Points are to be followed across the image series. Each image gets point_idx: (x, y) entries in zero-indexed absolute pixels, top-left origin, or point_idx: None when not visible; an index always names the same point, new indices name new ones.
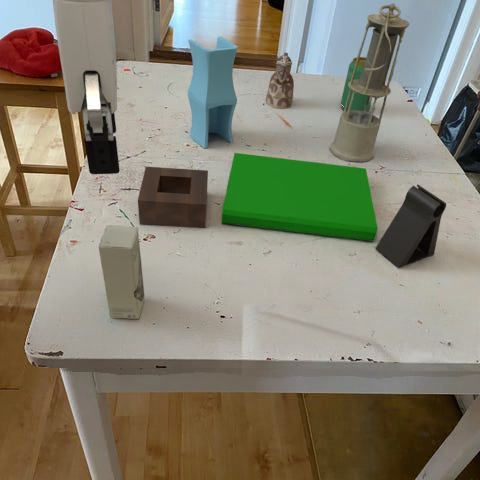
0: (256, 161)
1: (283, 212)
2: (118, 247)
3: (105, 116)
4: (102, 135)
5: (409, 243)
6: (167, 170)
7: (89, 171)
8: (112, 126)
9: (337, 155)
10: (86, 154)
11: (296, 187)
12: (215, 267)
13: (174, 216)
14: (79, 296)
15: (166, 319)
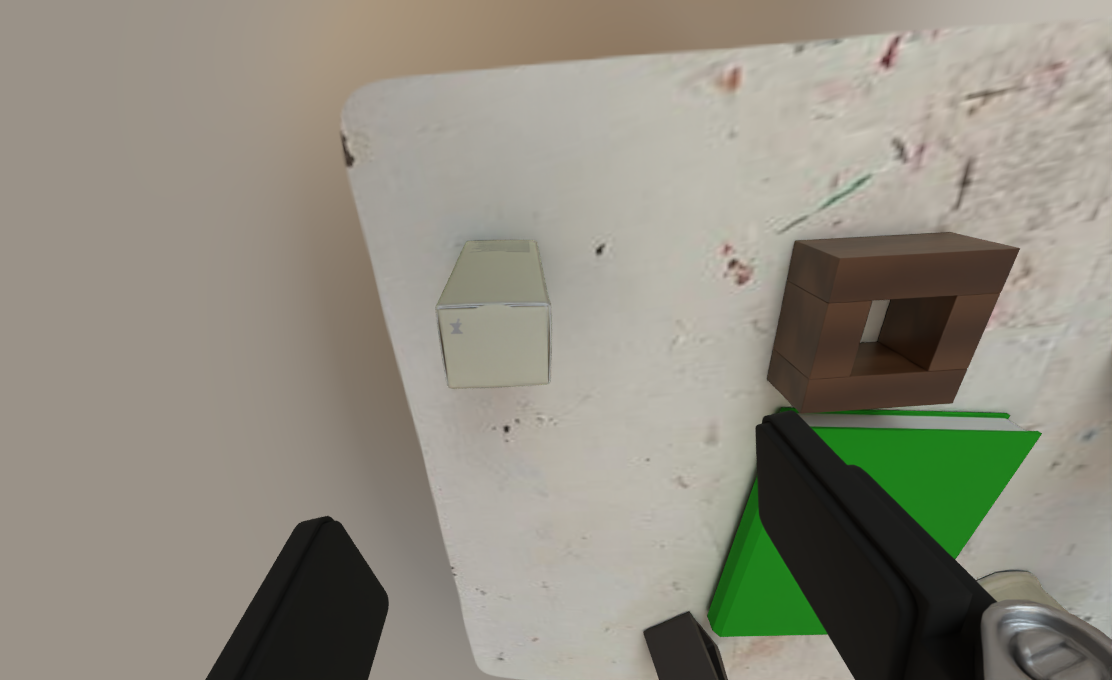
0: (984, 476)
1: None
2: (444, 357)
3: (814, 578)
4: None
5: (664, 676)
6: (979, 310)
7: (295, 528)
8: (777, 545)
9: (983, 581)
10: (237, 625)
11: None
12: (637, 407)
13: (793, 330)
14: (523, 154)
15: None
